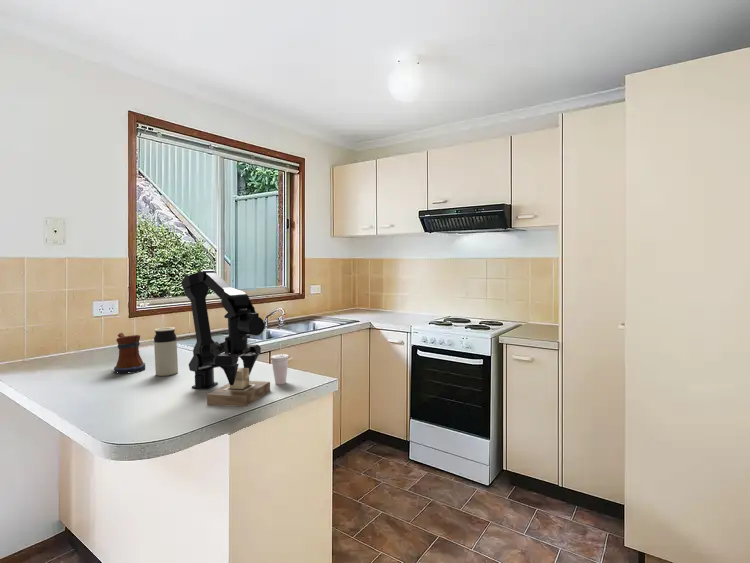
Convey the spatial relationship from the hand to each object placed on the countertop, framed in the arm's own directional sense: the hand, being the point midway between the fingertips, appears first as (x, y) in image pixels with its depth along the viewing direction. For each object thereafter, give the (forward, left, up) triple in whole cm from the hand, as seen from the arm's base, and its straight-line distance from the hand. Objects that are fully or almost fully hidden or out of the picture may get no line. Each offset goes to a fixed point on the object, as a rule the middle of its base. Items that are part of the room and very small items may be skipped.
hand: (239, 380), depth 138 cm
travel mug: (-22, -45, -6) cm, 51 cm away
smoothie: (-17, +6, -6) cm, 19 cm away
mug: (-26, -67, -6) cm, 72 cm away
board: (0, 0, -5) cm, 5 cm away
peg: (0, 0, -5) cm, 5 cm away
